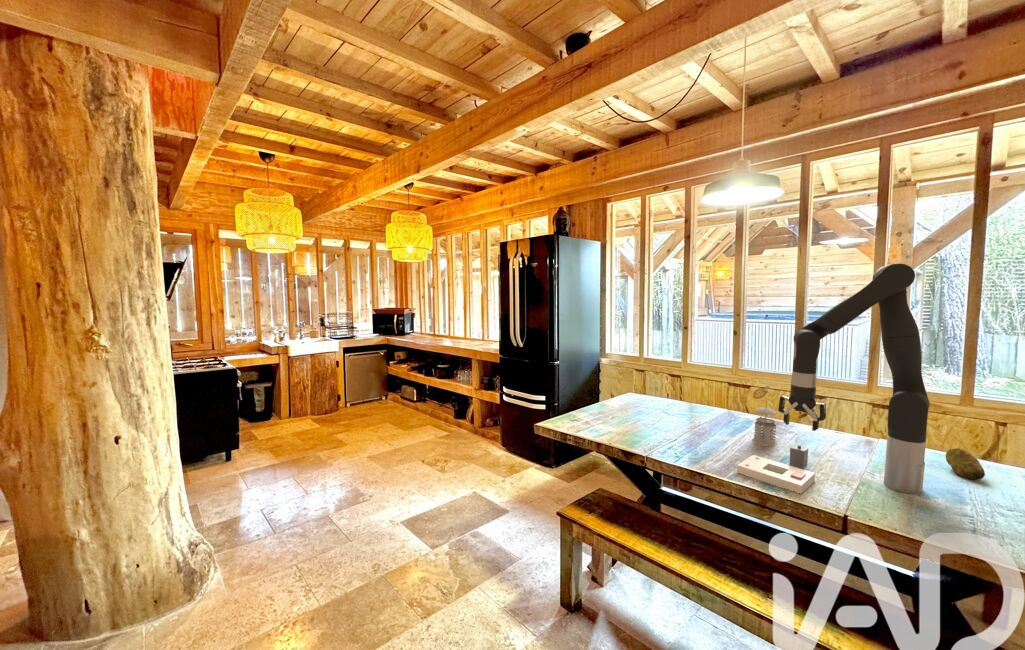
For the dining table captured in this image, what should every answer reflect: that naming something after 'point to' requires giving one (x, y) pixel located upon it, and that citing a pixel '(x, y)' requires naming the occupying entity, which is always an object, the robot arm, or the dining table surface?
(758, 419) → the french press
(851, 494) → the dining table surface
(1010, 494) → the dining table surface
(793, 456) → the plug
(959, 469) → the potato
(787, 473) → the socket plate
